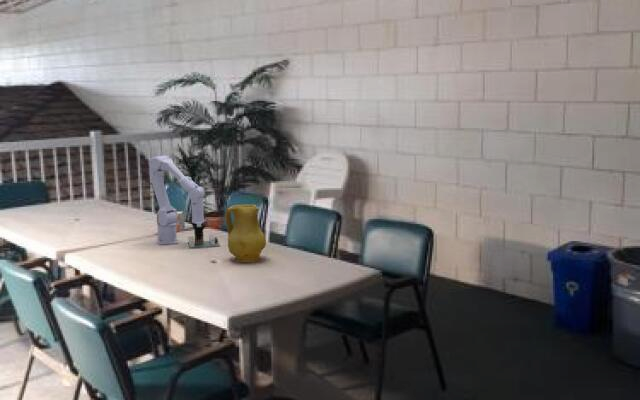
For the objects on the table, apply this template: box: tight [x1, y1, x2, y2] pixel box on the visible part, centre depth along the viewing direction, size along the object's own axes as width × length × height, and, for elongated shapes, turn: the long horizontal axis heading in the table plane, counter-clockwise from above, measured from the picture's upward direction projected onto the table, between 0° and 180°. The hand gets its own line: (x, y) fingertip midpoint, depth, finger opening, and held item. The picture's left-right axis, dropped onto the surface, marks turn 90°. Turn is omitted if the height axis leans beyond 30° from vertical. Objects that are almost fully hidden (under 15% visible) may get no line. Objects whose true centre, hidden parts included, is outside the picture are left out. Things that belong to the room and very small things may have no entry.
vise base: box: [187, 235, 221, 249], centre depth 325 cm, size 15×12×4 cm
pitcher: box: [224, 204, 267, 264], centre depth 295 cm, size 17×19×25 cm
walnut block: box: [194, 230, 205, 243], centre depth 324 cm, size 4×5×5 cm
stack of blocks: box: [156, 208, 186, 232], centre depth 358 cm, size 21×6×12 cm, turn 168°
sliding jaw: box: [208, 234, 219, 245], centre depth 326 cm, size 4×10×3 cm, turn 15°
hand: (198, 238), depth 324 cm, fingers closed on walnut block, 5 cm apart
